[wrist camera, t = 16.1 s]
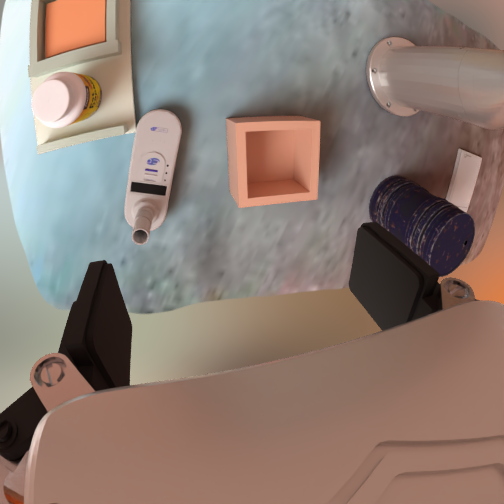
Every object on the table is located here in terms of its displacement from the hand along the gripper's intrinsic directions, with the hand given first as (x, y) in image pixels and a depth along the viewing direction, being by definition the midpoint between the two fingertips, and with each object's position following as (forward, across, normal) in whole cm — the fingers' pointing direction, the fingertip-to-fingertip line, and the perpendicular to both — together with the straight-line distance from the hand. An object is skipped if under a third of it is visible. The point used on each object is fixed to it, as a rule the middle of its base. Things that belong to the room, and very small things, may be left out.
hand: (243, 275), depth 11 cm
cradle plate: (+28, +13, -18) cm, 35 cm away
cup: (+28, -9, +2) cm, 30 cm away
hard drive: (+29, -50, +7) cm, 58 cm away
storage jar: (+28, -31, +11) cm, 44 cm away
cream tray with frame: (+28, +13, -13) cm, 34 cm away
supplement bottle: (+28, +13, -8) cm, 32 cm away
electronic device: (+29, +5, +2) cm, 29 cm away
